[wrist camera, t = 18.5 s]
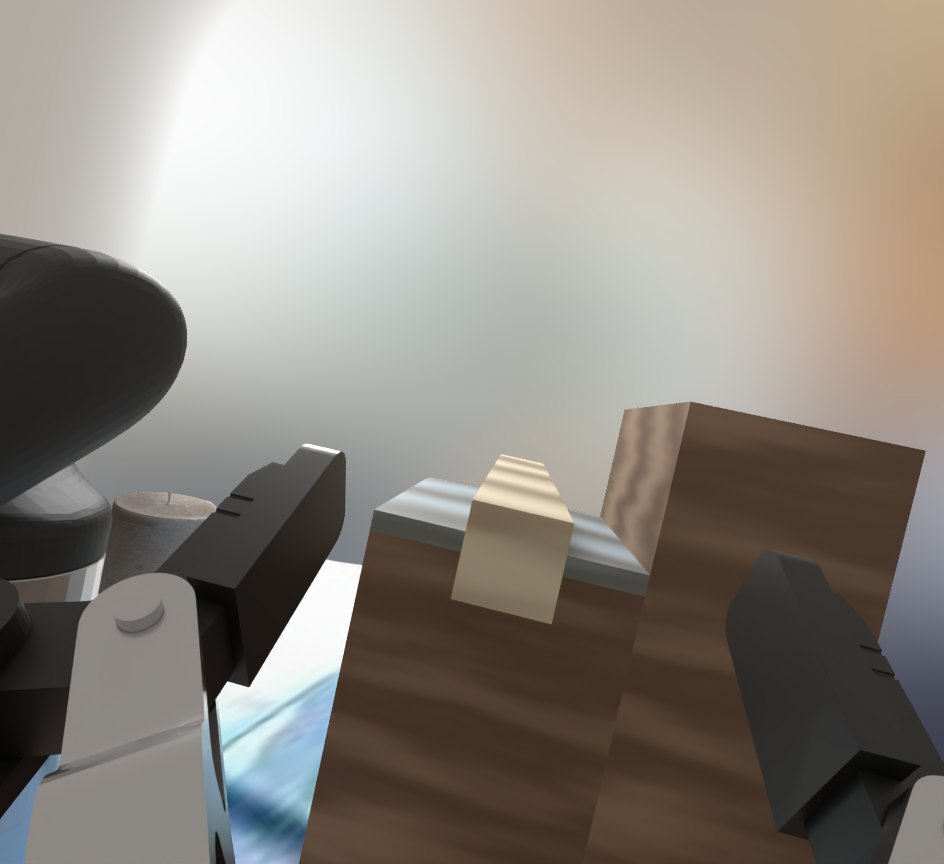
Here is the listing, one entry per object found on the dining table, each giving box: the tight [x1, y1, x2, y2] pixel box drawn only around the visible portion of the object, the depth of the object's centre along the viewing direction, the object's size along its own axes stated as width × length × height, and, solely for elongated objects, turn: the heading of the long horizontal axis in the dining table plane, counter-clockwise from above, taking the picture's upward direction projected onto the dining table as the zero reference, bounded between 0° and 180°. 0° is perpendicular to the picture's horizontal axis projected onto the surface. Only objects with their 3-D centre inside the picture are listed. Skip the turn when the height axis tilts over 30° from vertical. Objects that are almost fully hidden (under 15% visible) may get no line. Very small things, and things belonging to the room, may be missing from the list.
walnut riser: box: [299, 402, 925, 864], centre depth 32 cm, size 15×23×32 cm, turn 85°
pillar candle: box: [98, 491, 217, 595], centre depth 54 cm, size 10×10×15 cm
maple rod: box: [451, 455, 574, 624], centre depth 26 cm, size 22×3×3 cm, turn 175°
